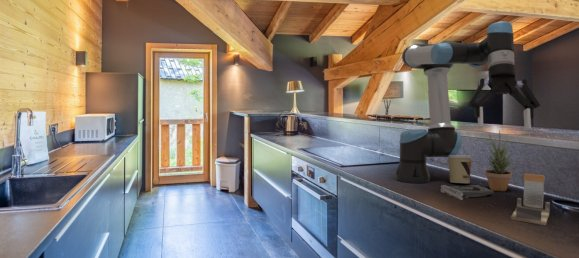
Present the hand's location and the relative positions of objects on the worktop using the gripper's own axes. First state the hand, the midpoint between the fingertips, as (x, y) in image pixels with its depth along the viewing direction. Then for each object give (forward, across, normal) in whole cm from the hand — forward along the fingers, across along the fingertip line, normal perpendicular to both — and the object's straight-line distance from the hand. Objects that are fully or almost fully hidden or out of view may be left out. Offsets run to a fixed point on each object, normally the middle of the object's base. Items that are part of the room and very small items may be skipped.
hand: (503, 128), depth 109 cm
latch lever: (+23, +11, +8) cm, 27 cm away
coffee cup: (+13, -2, +46) cm, 48 cm away
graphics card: (+20, -3, +28) cm, 35 cm away
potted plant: (+16, +11, +39) cm, 43 cm away
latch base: (+27, +8, +4) cm, 28 cm away
